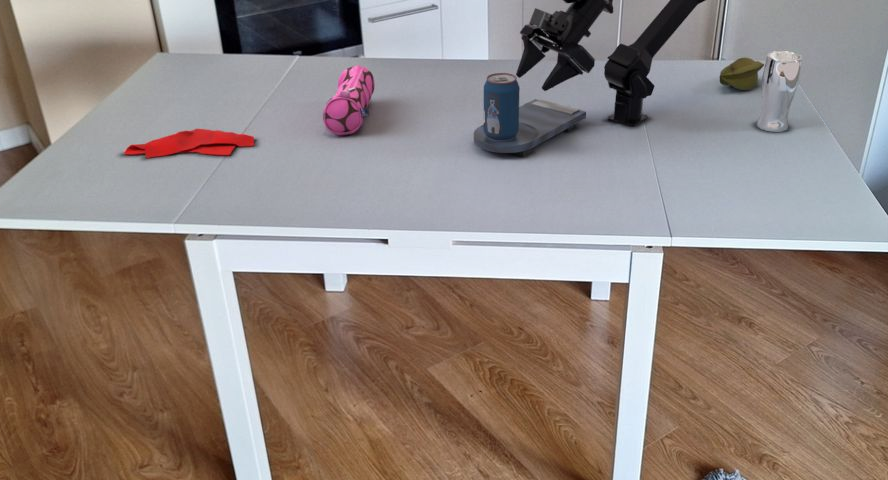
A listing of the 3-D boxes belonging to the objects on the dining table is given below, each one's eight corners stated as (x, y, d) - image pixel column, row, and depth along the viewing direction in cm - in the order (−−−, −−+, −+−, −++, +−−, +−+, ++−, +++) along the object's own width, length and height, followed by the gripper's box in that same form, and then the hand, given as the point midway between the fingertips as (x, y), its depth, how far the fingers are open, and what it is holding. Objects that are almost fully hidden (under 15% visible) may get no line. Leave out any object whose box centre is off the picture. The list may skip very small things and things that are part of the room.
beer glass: (749, 121, 190) (760, 51, 182) (781, 119, 190) (794, 49, 183) (762, 133, 184) (774, 62, 176) (795, 132, 185) (809, 60, 177)
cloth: (261, 130, 193) (260, 120, 192) (248, 156, 181) (247, 146, 180) (141, 132, 194) (139, 122, 193) (120, 158, 182) (118, 148, 181)
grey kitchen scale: (534, 111, 198) (535, 97, 196) (585, 125, 191) (586, 110, 189) (460, 149, 181) (460, 134, 180) (513, 165, 174) (513, 149, 172)
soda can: (517, 129, 182) (518, 71, 176) (519, 142, 176) (521, 83, 170) (482, 129, 182) (482, 72, 176) (484, 143, 176) (484, 84, 170)
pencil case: (370, 137, 188) (367, 91, 183) (324, 138, 188) (319, 92, 183) (379, 101, 206) (376, 58, 201) (337, 102, 207) (333, 59, 201)
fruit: (771, 94, 204) (776, 65, 200) (718, 95, 204) (722, 67, 200) (756, 77, 213) (761, 50, 210) (705, 78, 214) (709, 51, 210)
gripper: (528, -18, 177) (480, 47, 179) (585, 2, 163) (532, 73, 164) (560, 16, 184) (514, 78, 186) (617, 38, 170) (566, 105, 171)
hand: (530, 82), depth 177 cm, fingers open, 9 cm apart
